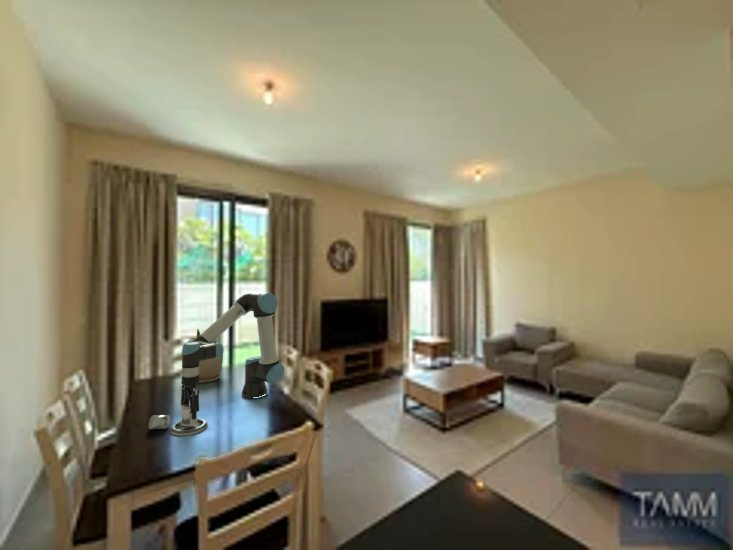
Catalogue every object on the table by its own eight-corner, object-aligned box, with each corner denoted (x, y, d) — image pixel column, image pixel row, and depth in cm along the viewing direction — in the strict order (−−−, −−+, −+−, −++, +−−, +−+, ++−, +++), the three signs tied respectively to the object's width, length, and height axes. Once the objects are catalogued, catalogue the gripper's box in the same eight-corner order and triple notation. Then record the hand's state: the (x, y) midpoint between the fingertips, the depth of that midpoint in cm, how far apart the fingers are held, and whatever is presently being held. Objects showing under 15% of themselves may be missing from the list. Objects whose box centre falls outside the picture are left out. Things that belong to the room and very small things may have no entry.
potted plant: (187, 386, 226) (188, 325, 226) (189, 377, 245) (191, 320, 245) (222, 383, 234) (223, 323, 234) (221, 374, 254) (223, 319, 254)
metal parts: (212, 421, 174) (212, 408, 174) (199, 436, 158) (200, 422, 158) (160, 421, 172) (160, 409, 172) (142, 436, 156) (142, 423, 156)
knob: (193, 419, 171) (194, 401, 171) (200, 423, 166) (200, 404, 166) (178, 423, 165) (178, 405, 165) (184, 428, 161) (185, 409, 161)
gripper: (173, 372, 169) (172, 419, 169) (191, 381, 156) (190, 432, 156) (189, 369, 175) (188, 415, 175) (208, 378, 162) (206, 427, 162)
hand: (189, 423), depth 166 cm, fingers closed on knob, 7 cm apart
